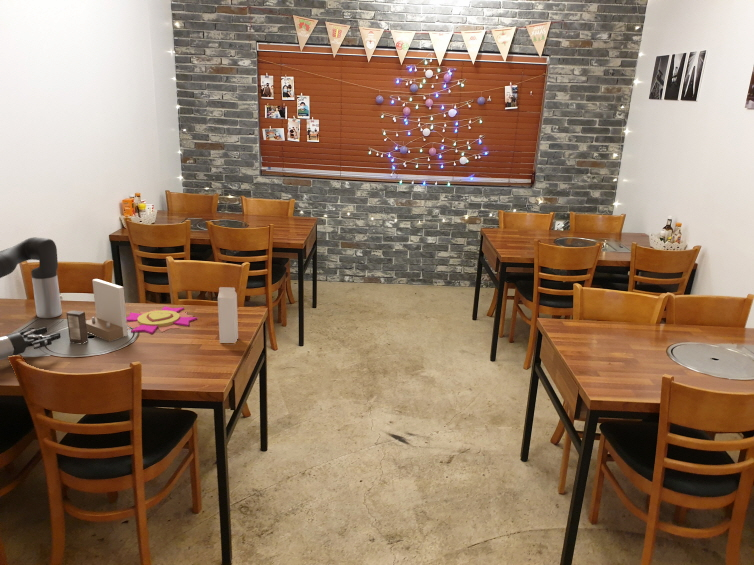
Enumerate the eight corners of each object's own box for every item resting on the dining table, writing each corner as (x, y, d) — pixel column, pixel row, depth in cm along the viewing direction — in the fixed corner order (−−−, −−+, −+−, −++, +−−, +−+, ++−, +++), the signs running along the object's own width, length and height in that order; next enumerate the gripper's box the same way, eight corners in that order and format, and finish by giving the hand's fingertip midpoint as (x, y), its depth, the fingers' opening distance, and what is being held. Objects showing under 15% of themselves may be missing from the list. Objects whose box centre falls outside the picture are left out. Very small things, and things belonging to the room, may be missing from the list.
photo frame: (69, 342, 221) (66, 313, 217) (75, 339, 224) (72, 310, 220) (82, 344, 220) (78, 314, 216) (88, 341, 223) (84, 311, 219)
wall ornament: (105, 325, 233) (141, 301, 262) (105, 331, 234) (142, 306, 262) (177, 331, 231) (206, 306, 259) (178, 337, 231) (206, 311, 260)
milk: (235, 344, 226) (233, 290, 219) (219, 343, 226) (217, 289, 219) (238, 338, 232) (236, 285, 225) (222, 337, 231) (220, 284, 225)
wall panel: (83, 331, 232) (77, 283, 226) (101, 325, 238) (96, 278, 233) (109, 341, 223) (104, 292, 217) (128, 335, 230) (123, 287, 224)
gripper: (-3, 351, 204) (43, 337, 217) (19, 362, 197) (65, 346, 210) (-6, 331, 202) (41, 318, 215) (15, 341, 195) (63, 327, 208)
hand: (53, 332), depth 212 cm, fingers open, 8 cm apart
